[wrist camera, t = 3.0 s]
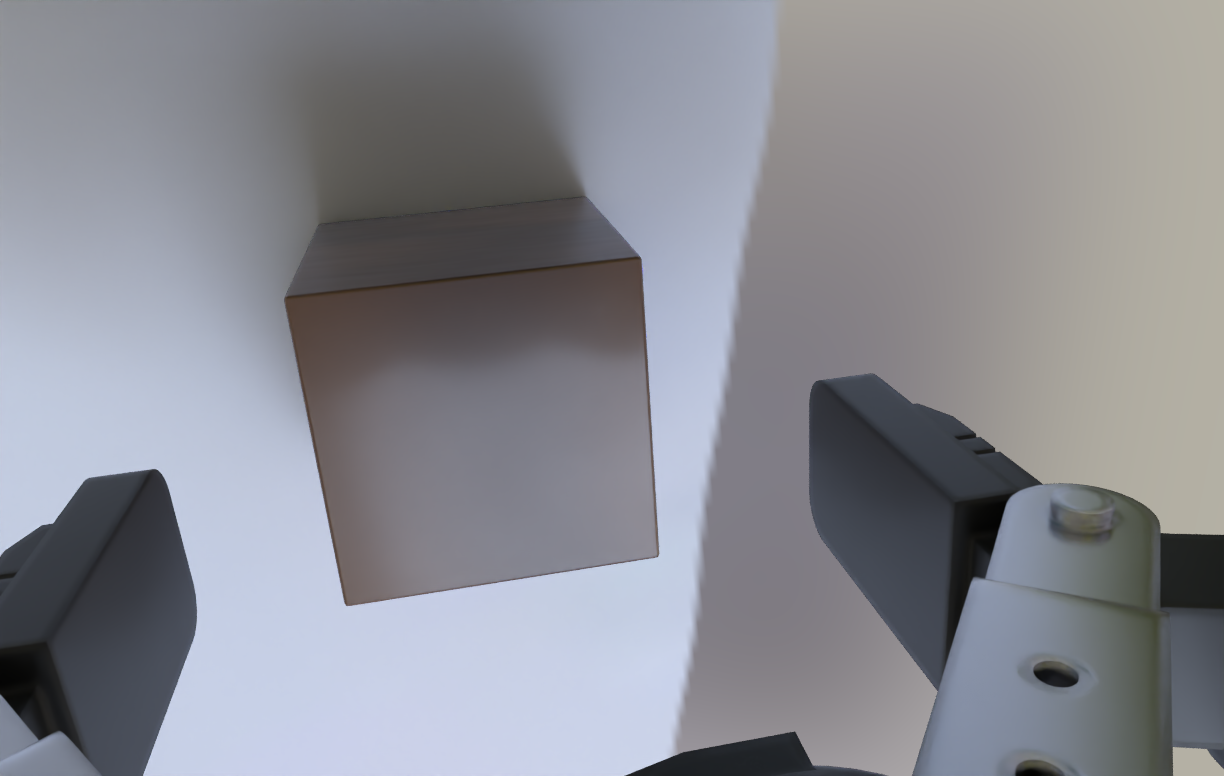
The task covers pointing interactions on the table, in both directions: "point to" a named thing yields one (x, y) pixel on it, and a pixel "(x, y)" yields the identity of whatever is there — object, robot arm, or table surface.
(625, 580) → the table surface
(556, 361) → the block
